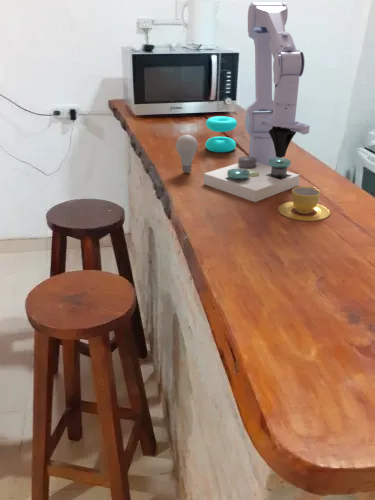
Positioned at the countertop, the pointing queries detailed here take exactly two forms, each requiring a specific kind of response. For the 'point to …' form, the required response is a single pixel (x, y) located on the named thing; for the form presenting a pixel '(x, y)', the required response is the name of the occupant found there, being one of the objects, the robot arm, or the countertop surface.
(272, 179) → the instrument base
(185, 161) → the lightbulb
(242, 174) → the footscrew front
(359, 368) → the countertop surface
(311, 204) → the cup
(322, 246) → the countertop surface
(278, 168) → the disc
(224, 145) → the donuts
